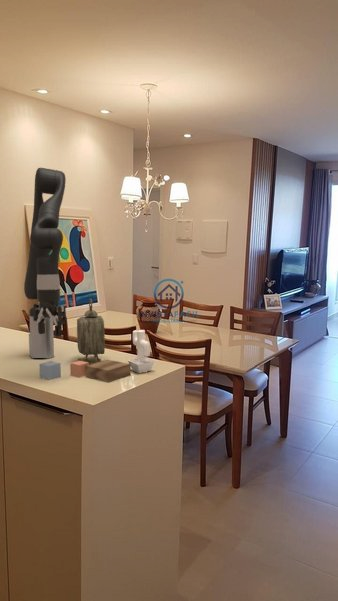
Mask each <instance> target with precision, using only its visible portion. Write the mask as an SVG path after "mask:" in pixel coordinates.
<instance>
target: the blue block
mask: <svg viewBox="0 0 338 601" xmlns="http://www.w3.org/2000/svg"><path fill="white" fill-rule="evenodd" d="M38 364H39V379H43V378H44V379H43V380H46V379H47V381H52V380H55V379H58V378H61V377H62V374H61V373H62V370H61V366H62V365H61V362H57V361H53V360H49V361H46V362H41V363H38Z"/></svg>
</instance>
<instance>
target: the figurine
mask: <svg viewBox="0 0 338 601" xmlns="http://www.w3.org/2000/svg"><path fill="white" fill-rule="evenodd" d="M146 338H147V335H146V331H145V329H139V330H136V329H135V330H133V331H132V343H133V345H134V346H136V347H137V348H136V349H137V351H136V352H137V356H136V359H128V360H127V362H128V364H130V365H131V369H132V371H133V372H135V373H137V374H143V373H142V372H144V373H147V372H146V371H151V370H152V368H153V366H154V365H155V363H156V362H155V361H154V360H151V359H149V358H147V357H150V355H151V345H150V342H149V341H147V340H146Z"/></svg>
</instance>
